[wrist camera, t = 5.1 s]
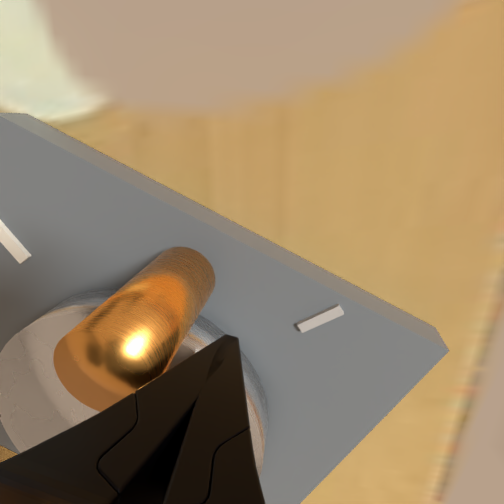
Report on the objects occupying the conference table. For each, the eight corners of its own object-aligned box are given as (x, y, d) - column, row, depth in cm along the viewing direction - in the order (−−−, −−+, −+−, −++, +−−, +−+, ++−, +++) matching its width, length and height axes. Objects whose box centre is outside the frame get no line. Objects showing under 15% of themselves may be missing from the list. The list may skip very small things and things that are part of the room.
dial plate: (-19, 403, 21) (-46, 426, 19) (26, 113, 13) (-12, 112, 12) (243, 536, 21) (238, 569, 20) (435, 327, 14) (451, 353, 12)
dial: (218, 516, 18) (180, 676, 13) (20, 427, 18) (-96, 549, 13) (346, 310, 12) (371, 451, 7) (50, 181, 12) (-143, 223, 7)
